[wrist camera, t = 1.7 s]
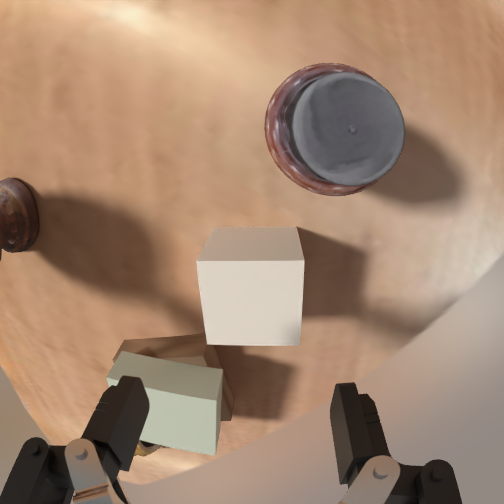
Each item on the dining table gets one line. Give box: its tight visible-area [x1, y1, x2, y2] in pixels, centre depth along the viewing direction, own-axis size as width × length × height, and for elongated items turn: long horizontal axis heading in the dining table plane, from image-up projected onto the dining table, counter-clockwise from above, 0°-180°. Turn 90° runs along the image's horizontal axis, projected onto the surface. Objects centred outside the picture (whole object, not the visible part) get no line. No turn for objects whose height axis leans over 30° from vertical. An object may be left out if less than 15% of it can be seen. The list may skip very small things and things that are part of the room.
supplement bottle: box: [265, 63, 405, 196], centre depth 14 cm, size 6×6×11 cm
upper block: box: [106, 351, 223, 455], centre depth 24 cm, size 9×9×4 cm
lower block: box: [113, 333, 234, 421], centre depth 28 cm, size 9×9×4 cm
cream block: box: [196, 227, 304, 346], centre depth 21 cm, size 6×6×6 cm
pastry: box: [134, 440, 160, 456], centre depth 33 cm, size 9×7×4 cm
